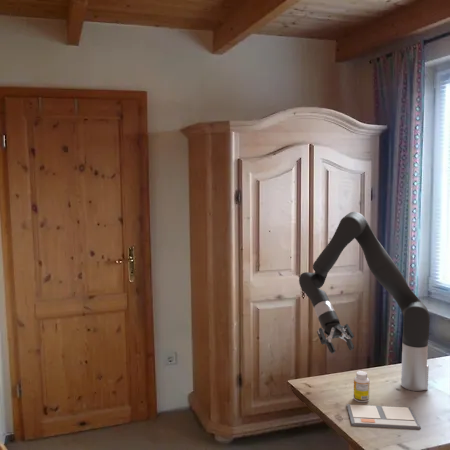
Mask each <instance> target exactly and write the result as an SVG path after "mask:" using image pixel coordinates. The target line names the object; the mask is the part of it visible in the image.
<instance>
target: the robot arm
mask: <svg viewBox="0 0 450 450" xmlns="http://www.w3.org/2000/svg"><path fill="white" fill-rule="evenodd" d="M337 225H338V226H337V228H335V229H336V230H335V232H334V234H333V236H332V238H331V239H330V241H329V242H328V243H327V245H326V246H325V247H324V249H323V250H322V251H321V253H320V254H319V255H318V257H317V258H316V260H315V261H314V262H313V264H312V269H313V271H314V272H305V271H304V272H302V273H301V274H300V275H299V279H298V284H299V287H300V289H301V290H302V291H303V292H304V294H305V295H306V297H307V298H308V299H309V300H310V302H311V304H312V307H313V309H314V312H315V315H316V317H317V319H318V322H319V324H320V326H321V327H319V328H318V329H317V331H316V333H317V335H318V338H319V342H320V344H321V345H326V346H327V348H328V351H329V352H330V353H331V354H335V352H336V348H335V347H334V344H333V342H332V340H333V339H338V338H340V339H341V340H343V341H345V342H346V343H345V344H346V345H347V348H348V349H349V351H353V350H354V348H355V347H354V343H353V341H352V340H353V339H354V337H355V335H354V333H353V332H352V330H351V328H350V325H349V323H346V324H345V325H342V324H341V321H340V318H339V317H338V315H337V312H336V310H335V308H334V306H333V304H332V303H331V300H330V299H329V296H328V295H327V292H326V291H325V290H322V289H321V288H322V287H323V286H324V284H325V283H326V279H327V276H328V273H329V272H330V271H331V269H333V267H334V265H335V264H336V263H337V261H338V259H339V257H340V255H341V254H342V252H343V250H344V249H345V248H346V247H347V246H348V245H349V244H350V243H351V242H352V241H354V239H355V240H356V242H357V243H358V245H359V246H360V247H361V250H362V251H363V254H364V258H365V261H366V263H367V266H368V269H369V270H370V272H371V273H372V275H373V276H374V278H375V279H376V280H377V282H378V283H379V284H380V285H381V286H382V287H383V288H384V289H385V290H386V291H387V293H389V294H390V295H391V297H392V298H393V299H394V300H395V302H396V303H397V305H398V308H399V309H400V311H401V313H402V315H403V325H402V326H403V327H402V328H403V333H402V347H401V348H402V349H401V350H402V351H401V375H400V377H401V378H400V385H401V387H402V388H404V389H406V390H408V391H412V392H413V391H414V392H421V391H428V390H429V389H428V388H429V365H428V351H429V350H428V349H429V347H428V345H429V337H430V322H431V321H430V319H431V318H430V313H429V311H428V308H427V306H426V305H425V304H424V303H423V302H422V301H421V300H420V299H419V297H418V296H417V295H416V294H415V293H414V292H413V290H412V289H411V288H410V286H409V285H408V283H407V281H406V279H405V277H404V275H403V274H402V272H401V271H400V269H399V267H398V266H397V265H396V263H395V262H394V260H393V259H392V258H391V256H390V254H389V253H388V252H387V250H386V249H385V247H383V245H382V244H381V242H380V241H379V240H378V238H377V237H376V234H374V232H373V229H372V228H371V226H370V225H369V222H368V221H367V219H366V218H365V216H364V215H363V214H362V213H360V212H357V211H350V212H349V213H347V214H346V215H345V216H343V217H342V218H341V219H340V221H339V223H338V224H337Z"/></svg>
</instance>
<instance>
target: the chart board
mask: <svg viewBox="0 0 450 450" xmlns="http://www.w3.org/2000/svg"><path fill="white" fill-rule="evenodd" d="M346 409H347V412H348V417H349V419H350V421H349V422H350V424H351V426H355V427H356V426H357V427H369V428H371V427H372V428H388V429H389V428H391V429H405V430H406V429H407V430H408V429H409V430H421V428H422V427H421V424H420V423H419V421H418V419H417V416H415V414H414V412H413V409H412V408H411V407H410V406H395V405H394V406H393V405H392V406H390V405H372V404H371V405H370V404H355V403H354V404H350V403H346Z"/></svg>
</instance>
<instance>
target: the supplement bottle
mask: <svg viewBox="0 0 450 450" xmlns="http://www.w3.org/2000/svg"><path fill="white" fill-rule="evenodd" d="M368 376H369V375H368V373H367V371H362V370H361V371H360V370H357V371H356V373H355V377H354V378H353V399H354V400H355V401H356V402H359V403H367V402H369V400H370V378H369V377H368Z"/></svg>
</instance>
